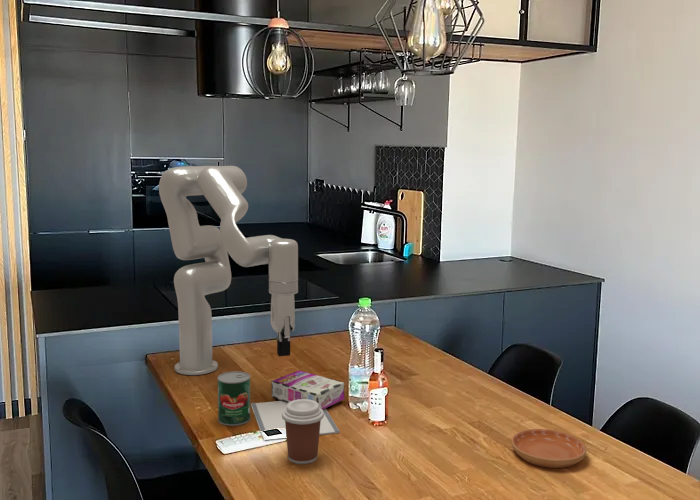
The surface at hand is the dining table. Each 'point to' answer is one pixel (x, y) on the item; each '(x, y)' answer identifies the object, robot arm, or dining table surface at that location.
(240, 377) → the canned tomato
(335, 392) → the candy bar box
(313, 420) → the coffee cup
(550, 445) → the saucer
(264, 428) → the mat
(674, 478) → the dining table surface
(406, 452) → the dining table surface
